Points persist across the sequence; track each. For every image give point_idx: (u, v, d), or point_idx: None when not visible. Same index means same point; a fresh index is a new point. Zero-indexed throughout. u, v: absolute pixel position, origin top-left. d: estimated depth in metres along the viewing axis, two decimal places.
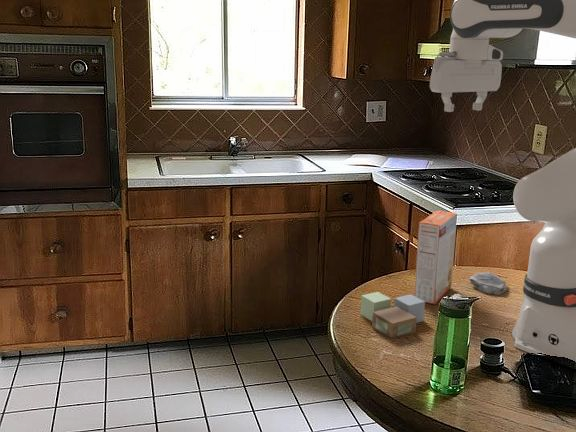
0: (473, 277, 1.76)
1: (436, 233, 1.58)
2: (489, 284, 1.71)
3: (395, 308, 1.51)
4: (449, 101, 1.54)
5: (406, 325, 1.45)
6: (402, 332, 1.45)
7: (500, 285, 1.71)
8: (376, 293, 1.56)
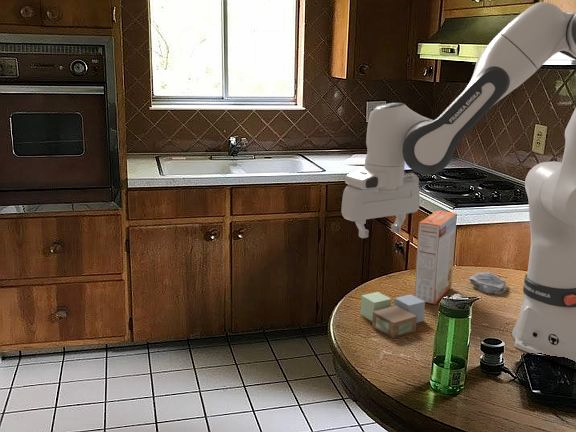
0: (473, 277, 1.76)
1: (436, 233, 1.58)
2: (489, 284, 1.71)
3: (395, 307, 1.51)
4: None
5: (407, 324, 1.46)
6: (402, 331, 1.46)
7: (500, 285, 1.71)
8: (376, 293, 1.56)
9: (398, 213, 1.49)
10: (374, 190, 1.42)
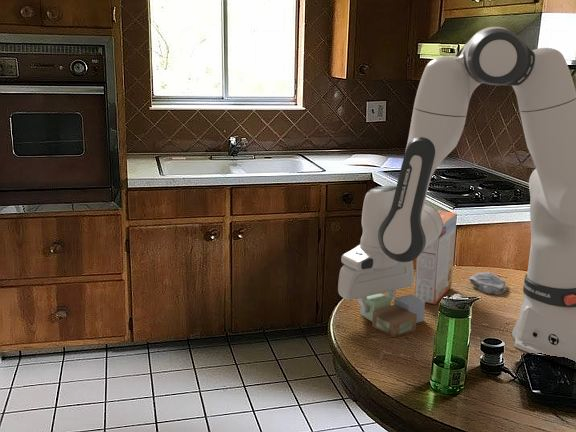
0: (473, 277, 1.76)
1: None
2: (489, 284, 1.71)
3: (394, 306, 1.52)
4: None
5: (407, 323, 1.46)
6: (403, 330, 1.46)
7: (500, 285, 1.71)
8: None
9: (393, 289, 1.54)
10: (369, 270, 1.47)
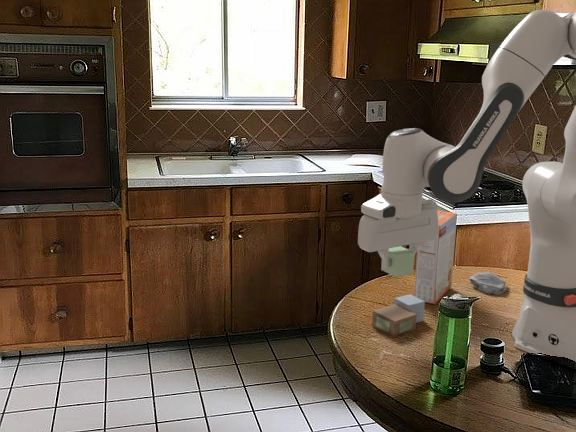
0: (473, 277, 1.76)
1: None
2: (489, 284, 1.71)
3: (394, 306, 1.52)
4: None
5: (407, 322, 1.46)
6: (403, 329, 1.46)
7: (500, 285, 1.71)
8: (398, 247, 1.46)
9: (416, 241, 1.44)
10: (392, 220, 1.37)
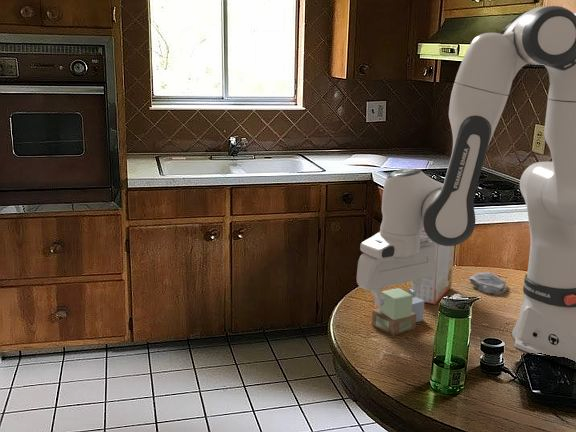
0: (473, 277, 1.76)
1: None
2: (489, 284, 1.71)
3: None
4: None
5: (407, 322, 1.47)
6: (403, 329, 1.47)
7: (500, 285, 1.71)
8: (397, 289, 1.49)
9: (414, 279, 1.46)
10: (390, 259, 1.39)
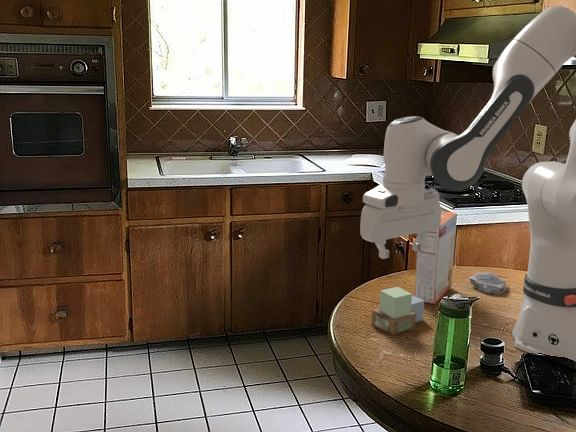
0: (473, 277, 1.76)
1: (436, 233, 1.58)
2: (489, 284, 1.71)
3: None
4: None
5: (406, 321, 1.47)
6: (402, 328, 1.47)
7: (500, 285, 1.71)
8: (396, 288, 1.49)
9: (419, 231, 1.42)
10: (394, 209, 1.36)
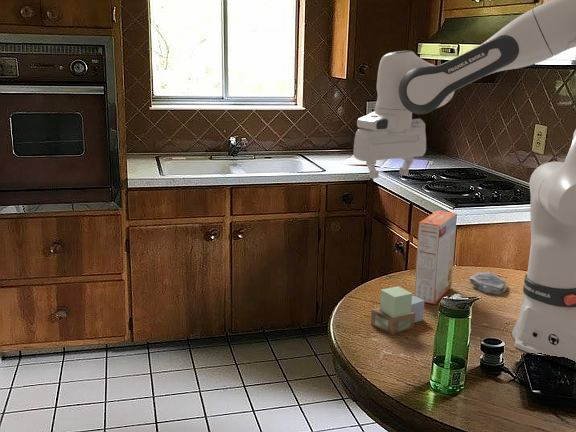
0: (473, 277, 1.76)
1: (436, 233, 1.58)
2: (489, 284, 1.71)
3: None
4: None
5: (406, 321, 1.47)
6: (402, 328, 1.47)
7: (500, 285, 1.71)
8: (396, 287, 1.50)
9: (406, 156, 1.59)
10: (384, 132, 1.53)
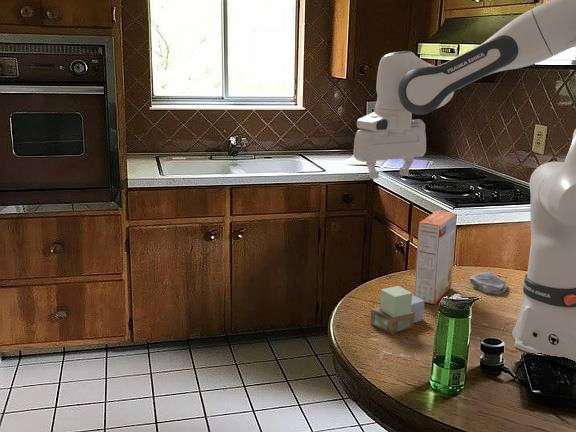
0: (473, 277, 1.76)
1: (436, 233, 1.58)
2: (489, 284, 1.71)
3: None
4: None
5: (405, 320, 1.48)
6: (401, 327, 1.47)
7: (500, 285, 1.71)
8: (396, 287, 1.50)
9: (406, 156, 1.59)
10: (384, 132, 1.53)
